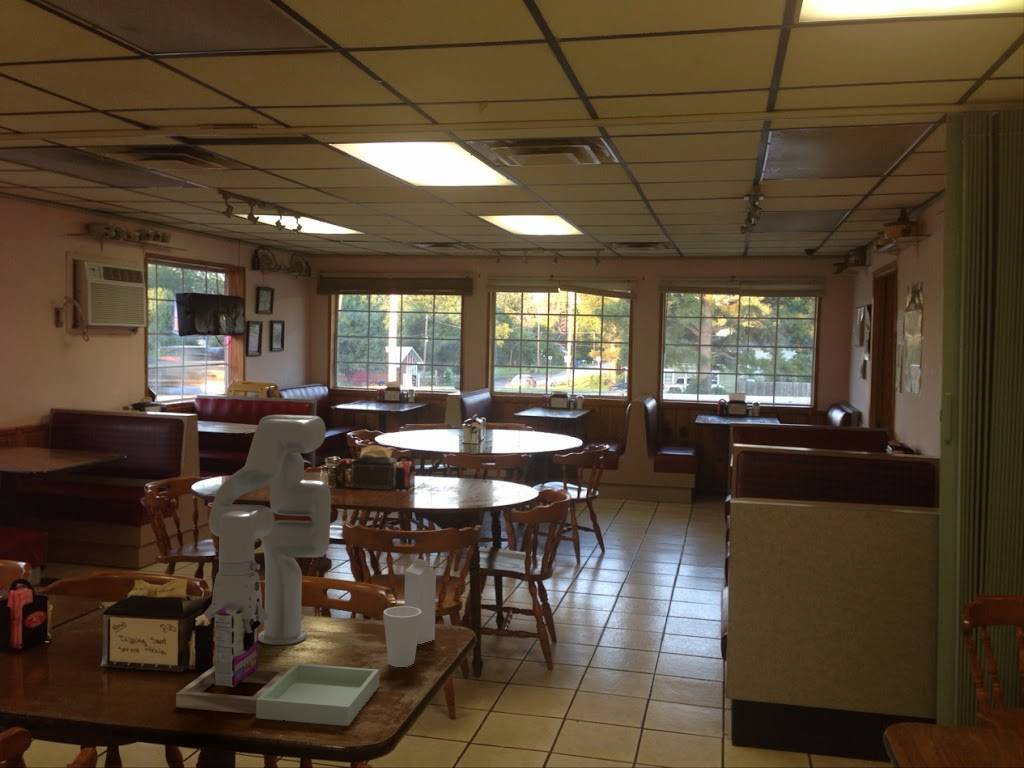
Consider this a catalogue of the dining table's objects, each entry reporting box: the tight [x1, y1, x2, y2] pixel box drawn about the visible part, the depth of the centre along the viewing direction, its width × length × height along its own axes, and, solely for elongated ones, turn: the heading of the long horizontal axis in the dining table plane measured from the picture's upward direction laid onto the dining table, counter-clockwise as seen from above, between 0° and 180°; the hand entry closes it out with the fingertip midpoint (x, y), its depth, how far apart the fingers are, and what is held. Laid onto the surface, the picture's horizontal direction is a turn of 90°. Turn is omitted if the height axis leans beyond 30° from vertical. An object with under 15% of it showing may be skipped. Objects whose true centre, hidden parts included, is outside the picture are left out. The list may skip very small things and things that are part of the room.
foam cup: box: [382, 605, 421, 668], centre depth 219 cm, size 10×9×13 cm
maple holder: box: [175, 665, 290, 715], centre depth 197 cm, size 18×18×3 cm
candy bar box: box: [213, 609, 259, 688], centre depth 197 cm, size 11×5×16 cm, turn 168°
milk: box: [403, 557, 437, 645], centre depth 237 cm, size 6×6×22 cm
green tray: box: [255, 663, 380, 727], centre depth 194 cm, size 22×20×4 cm
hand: (236, 646), depth 197 cm, fingers closed on candy bar box, 5 cm apart
